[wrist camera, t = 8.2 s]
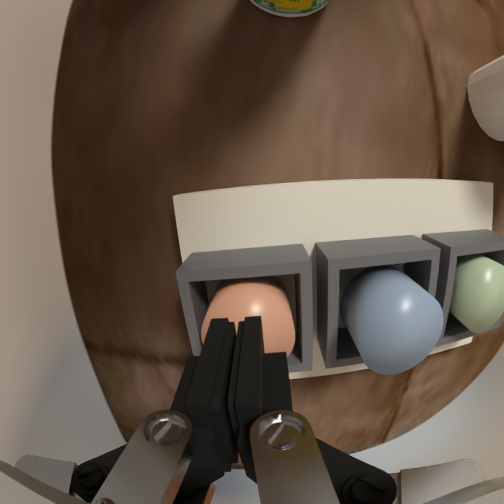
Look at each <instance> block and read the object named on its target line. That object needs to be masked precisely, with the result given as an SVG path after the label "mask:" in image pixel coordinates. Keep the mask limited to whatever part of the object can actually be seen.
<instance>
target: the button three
mask: <svg viewBox="0 0 504 504" xmlns="http://www.w3.org/2000/svg"><path fill="white" fill-rule="evenodd" d="M449 312H450V313H451V314H452V315H453V316H454V317H456V318H457V319H458V320H459V321H460V322H461V323H462V324H463V325H464V326H466V327H467V328H468V329H469V330H470V331H471V332H474V333H480V332H483V331H486V330H487V329H489V328H490V327H491V326H493V325H494V324H495V323H496V322H497V320H498V319H499V318H500V316H501V315H502V313H503V312H504V266H503V265H501V264H499V263H497V262H495V261H493V260H491V259H489V258H487V257H485V256H483V255H481V254H479V253H478V254H471V255H463V256H457V263H456V271H455V278H454V285H453V291H452V297H451V303H450V308H449Z"/></svg>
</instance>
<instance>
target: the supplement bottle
mask: <svg viewBox="0 0 504 504" xmlns="http://www.w3.org/2000/svg"><path fill="white" fill-rule="evenodd" d="M250 1H251V2H252V3H253V4H254V5H256V6H257V7H258V8H260V9H262V10H264V11H266V12H268V13H271V14H274V15H277V16H283V17H301V16H307V15H310V14H312V13H314V12H316V11H318V10H320V9H322V8H323V7H324V6H325V5H326V4H327V3H328V1H329V0H250Z"/></svg>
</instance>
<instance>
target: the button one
mask: <svg viewBox="0 0 504 504" xmlns="http://www.w3.org/2000/svg"><path fill="white" fill-rule="evenodd" d="M250 316H261V319H262V329H263V340H264V350H265V353H274V352H286V354H287V357H288V356H289V355H290V353H291V351H292V349H293V347H294V343H295V329H294V324H293V318H292V313H291V308H290V303H289V297H288V293H287V290H286V288H285V286H284V285H283V283H282V282H281V281H280V280H279V279H278V278H277V277H276V276H275V275H274V276H262V277H249V278H235V279H222V280H221V282H220V283H219V284H218V286H217V288H216V291H215V293H214V296H213V298H212V301H211V303H210V306H209V309H208V311H207V314H206V316H205V319H204V322H203V324H202V329H201V338H202V343H204V340H205V337H206V334H207V330H208V327H209V324H210V321H211V319H213V318H228V320H229V322H234V323H235V328H236V335H237V329H238V322H239V321H244V318H245V317H250Z"/></svg>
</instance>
